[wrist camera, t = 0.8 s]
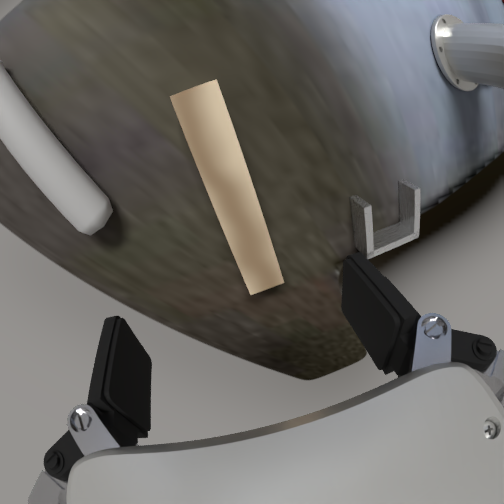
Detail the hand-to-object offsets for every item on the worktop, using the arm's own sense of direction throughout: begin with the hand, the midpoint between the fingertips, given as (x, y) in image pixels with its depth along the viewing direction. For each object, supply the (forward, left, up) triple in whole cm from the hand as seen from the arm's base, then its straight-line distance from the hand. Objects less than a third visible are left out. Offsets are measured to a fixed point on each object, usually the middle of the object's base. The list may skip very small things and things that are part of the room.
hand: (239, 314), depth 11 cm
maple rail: (-2, +2, -21) cm, 21 cm away
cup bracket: (-20, +11, -20) cm, 30 cm away
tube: (+16, -12, -21) cm, 29 cm away
